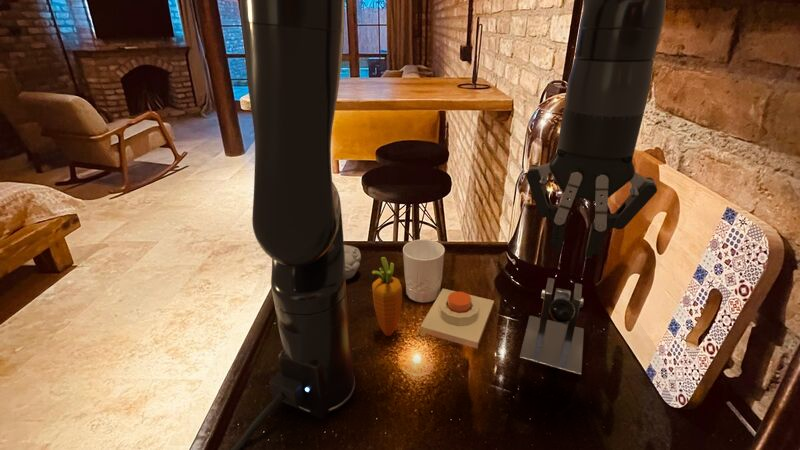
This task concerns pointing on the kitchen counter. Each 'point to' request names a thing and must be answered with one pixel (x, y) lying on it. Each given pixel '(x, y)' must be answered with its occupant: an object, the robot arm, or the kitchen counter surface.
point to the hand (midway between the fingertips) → (573, 251)
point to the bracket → (555, 336)
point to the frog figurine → (351, 260)
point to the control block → (457, 320)
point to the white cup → (423, 269)
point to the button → (459, 302)
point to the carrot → (387, 298)
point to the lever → (562, 306)
